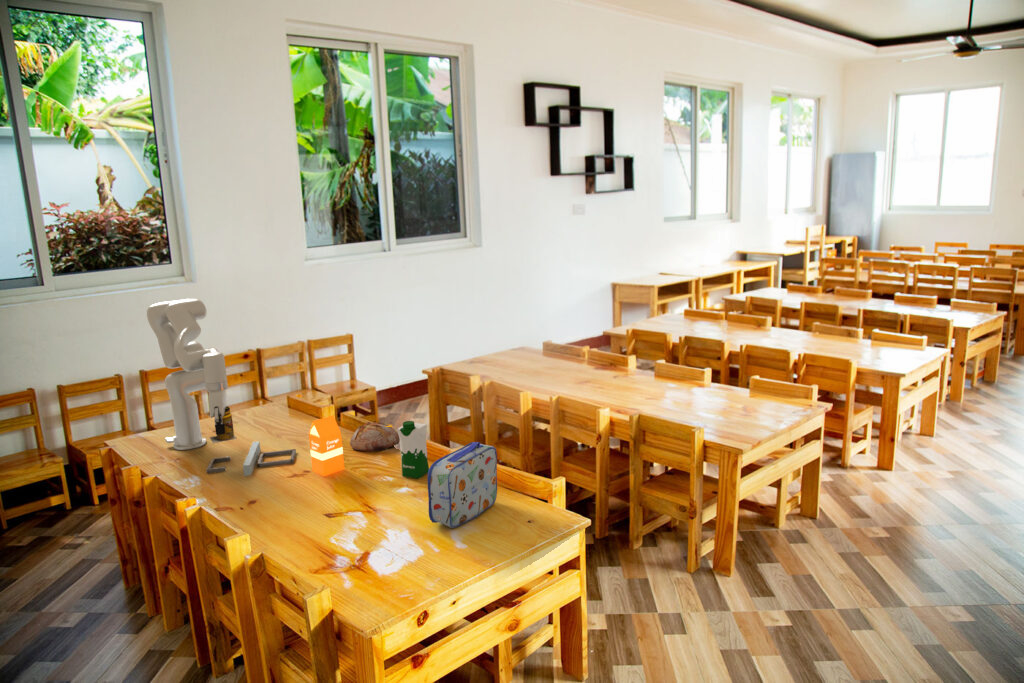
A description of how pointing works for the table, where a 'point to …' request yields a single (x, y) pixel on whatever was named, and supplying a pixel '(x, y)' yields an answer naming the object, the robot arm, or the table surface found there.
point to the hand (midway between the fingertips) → (222, 430)
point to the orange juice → (326, 446)
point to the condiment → (228, 428)
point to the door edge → (251, 458)
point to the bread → (374, 437)
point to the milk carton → (413, 449)
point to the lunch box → (462, 484)
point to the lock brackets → (260, 463)
